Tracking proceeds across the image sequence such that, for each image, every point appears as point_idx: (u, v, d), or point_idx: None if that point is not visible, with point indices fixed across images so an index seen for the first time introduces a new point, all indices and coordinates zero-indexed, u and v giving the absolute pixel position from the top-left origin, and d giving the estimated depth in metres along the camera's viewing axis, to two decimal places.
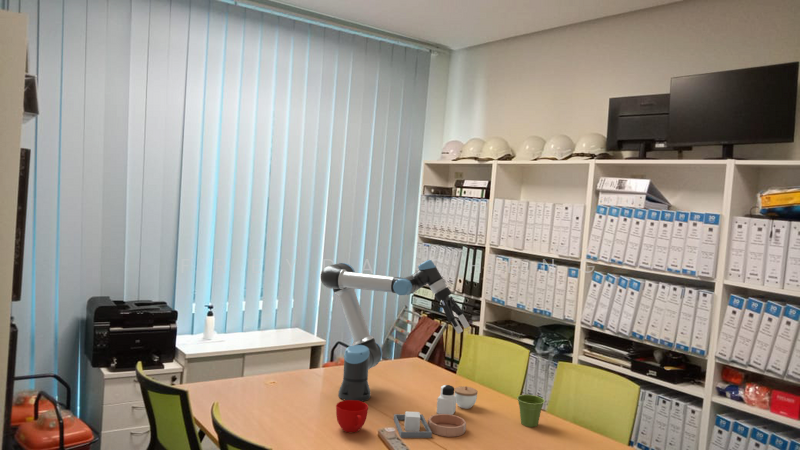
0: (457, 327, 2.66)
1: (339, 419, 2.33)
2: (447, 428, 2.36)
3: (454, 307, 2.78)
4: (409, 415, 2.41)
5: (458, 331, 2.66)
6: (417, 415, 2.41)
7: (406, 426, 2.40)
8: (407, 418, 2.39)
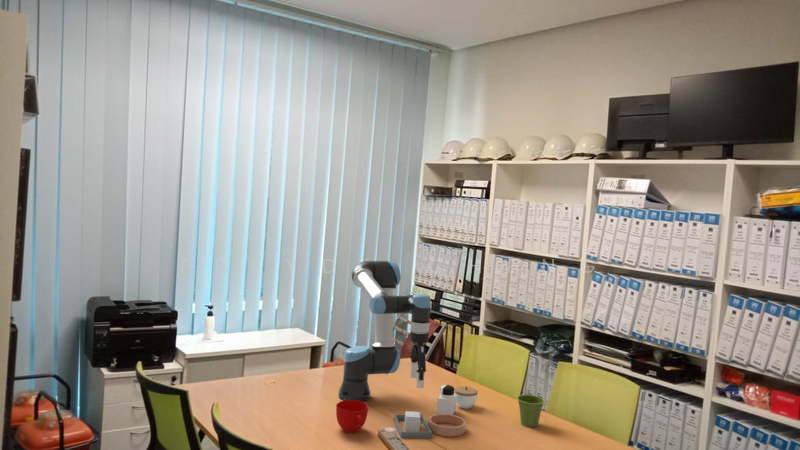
0: (420, 381, 2.35)
1: (339, 419, 2.33)
2: (447, 428, 2.36)
3: None
4: (409, 415, 2.41)
5: (419, 385, 2.35)
6: (417, 415, 2.41)
7: (406, 426, 2.40)
8: (407, 418, 2.39)
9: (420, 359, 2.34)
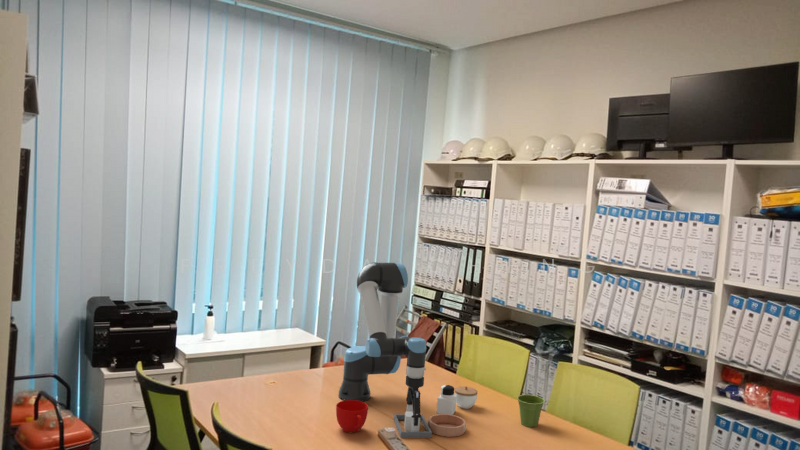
0: (415, 426, 2.35)
1: (339, 419, 2.33)
2: (447, 428, 2.36)
3: None
4: (409, 415, 2.41)
5: (414, 431, 2.35)
6: None
7: (406, 426, 2.40)
8: (407, 418, 2.39)
9: (415, 405, 2.34)
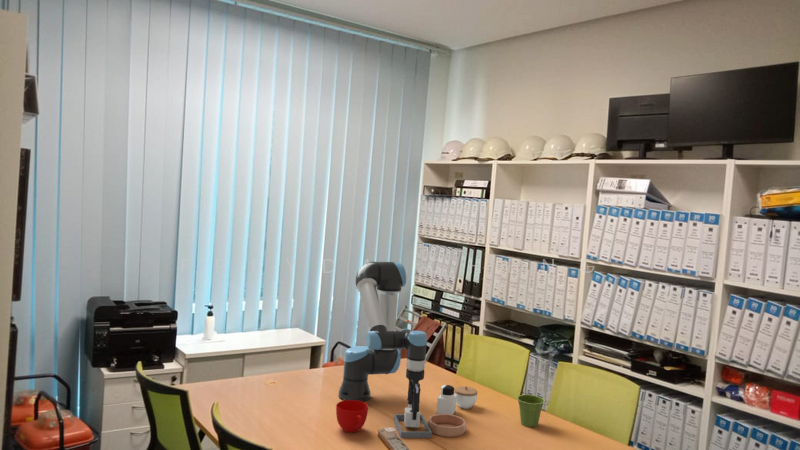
0: (414, 420, 2.39)
1: (339, 419, 2.33)
2: (447, 428, 2.36)
3: (414, 392, 2.45)
4: (409, 411, 2.41)
5: (412, 425, 2.39)
6: None
7: (406, 422, 2.40)
8: (407, 414, 2.40)
9: (414, 400, 2.36)
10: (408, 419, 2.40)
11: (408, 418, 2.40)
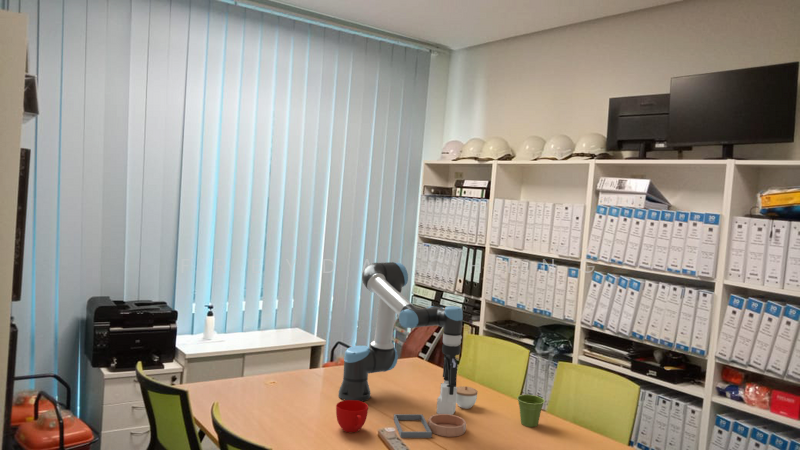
0: (450, 395, 2.39)
1: (339, 419, 2.33)
2: (447, 428, 2.36)
3: (449, 368, 2.45)
4: (445, 386, 2.41)
5: (449, 400, 2.39)
6: None
7: (443, 397, 2.40)
8: (444, 389, 2.40)
9: (451, 374, 2.36)
10: (445, 394, 2.40)
11: (445, 393, 2.40)
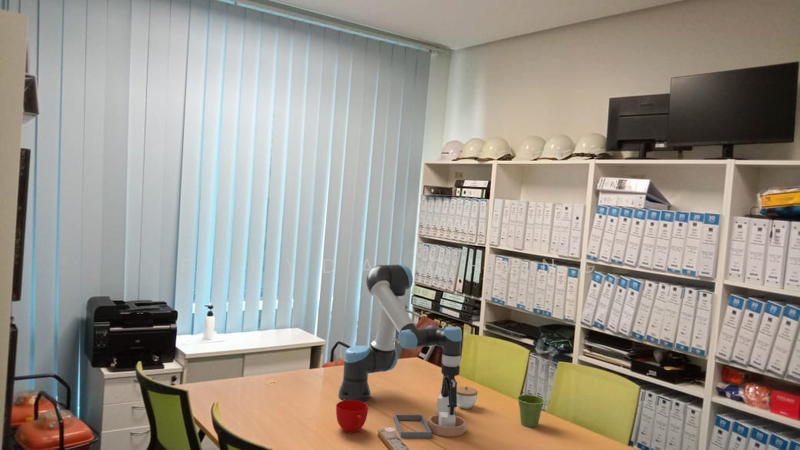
0: (451, 416, 2.37)
1: (339, 419, 2.33)
2: (447, 428, 2.36)
3: None
4: (444, 415, 2.42)
5: (449, 420, 2.37)
6: None
7: None
8: (443, 419, 2.40)
9: (451, 394, 2.35)
10: (444, 424, 2.40)
11: (444, 423, 2.40)
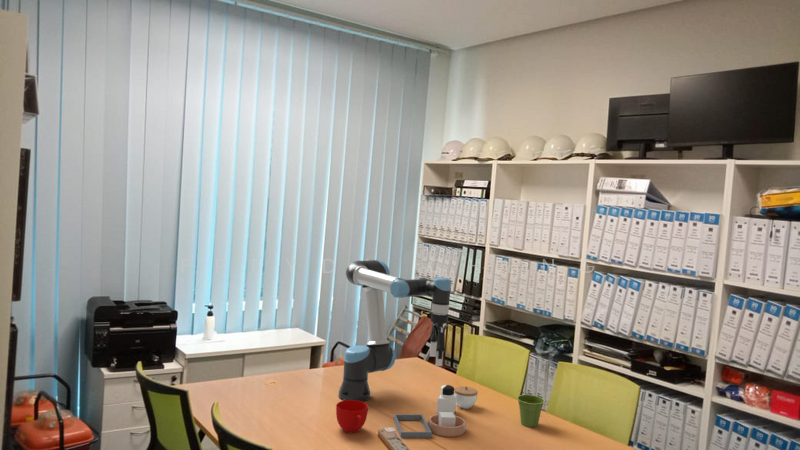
0: (439, 359, 2.48)
1: (339, 419, 2.33)
2: (447, 428, 2.36)
3: None
4: (444, 415, 2.42)
5: (438, 363, 2.48)
6: (452, 415, 2.42)
7: None
8: (443, 419, 2.40)
9: (439, 339, 2.47)
10: (444, 424, 2.40)
11: (444, 423, 2.40)
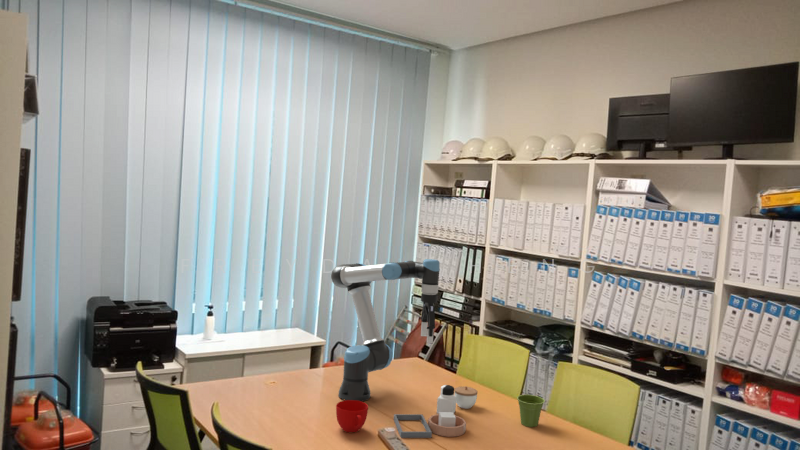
0: (430, 337, 2.59)
1: (339, 419, 2.33)
2: (447, 428, 2.36)
3: None
4: (444, 415, 2.42)
5: (428, 341, 2.59)
6: (452, 415, 2.42)
7: None
8: (443, 419, 2.40)
9: (430, 317, 2.58)
10: (444, 424, 2.40)
11: (444, 423, 2.40)
